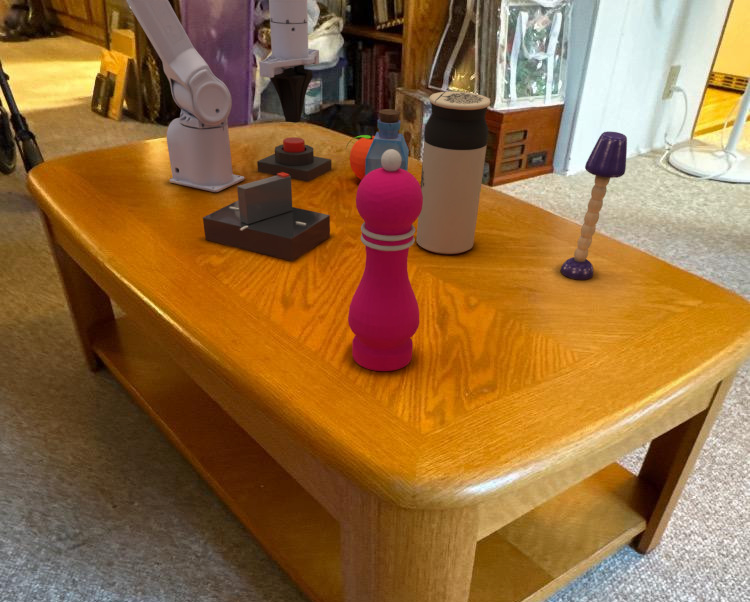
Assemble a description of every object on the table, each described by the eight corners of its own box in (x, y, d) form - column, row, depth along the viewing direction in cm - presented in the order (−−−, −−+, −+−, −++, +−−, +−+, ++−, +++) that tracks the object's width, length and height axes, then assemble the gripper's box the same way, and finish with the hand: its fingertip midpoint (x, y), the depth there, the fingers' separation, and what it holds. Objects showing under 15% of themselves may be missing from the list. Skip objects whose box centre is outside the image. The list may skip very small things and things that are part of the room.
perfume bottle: (406, 190, 111) (411, 108, 103) (403, 203, 107) (408, 118, 99) (368, 188, 112) (371, 105, 104) (364, 200, 107) (366, 115, 99)
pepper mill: (345, 339, 74) (347, 137, 60) (411, 339, 74) (427, 138, 61) (349, 375, 68) (352, 161, 55) (420, 374, 69) (440, 162, 55)
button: (279, 152, 114) (278, 140, 113) (290, 147, 117) (290, 136, 116) (297, 155, 113) (297, 144, 112) (308, 150, 116) (308, 139, 115)
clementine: (336, 182, 113) (336, 135, 108) (353, 171, 118) (354, 126, 113) (381, 190, 111) (382, 143, 106) (396, 178, 116) (398, 132, 111)
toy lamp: (598, 270, 90) (635, 131, 79) (595, 284, 87) (633, 141, 75) (562, 264, 91) (593, 126, 80) (557, 277, 88) (589, 136, 76)
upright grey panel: (247, 224, 89) (244, 187, 86) (240, 221, 90) (236, 184, 87) (292, 210, 94) (291, 174, 91) (285, 207, 95) (283, 171, 92)
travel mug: (480, 240, 96) (500, 96, 84) (461, 260, 91) (480, 108, 79) (428, 229, 99) (441, 88, 87) (407, 248, 93) (417, 99, 81)
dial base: (200, 242, 92) (197, 218, 90) (251, 215, 100) (249, 193, 98) (287, 264, 88) (286, 240, 86) (333, 234, 96) (333, 211, 94)
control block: (257, 171, 116) (256, 149, 114) (283, 160, 121) (281, 138, 119) (307, 182, 113) (307, 159, 111) (331, 169, 118) (331, 148, 116)
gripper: (285, 29, 97) (290, 134, 106) (335, 18, 107) (335, 115, 116) (244, 24, 99) (252, 127, 108) (296, 14, 109) (300, 109, 118)
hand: (292, 121), depth 112 cm, fingers closed
